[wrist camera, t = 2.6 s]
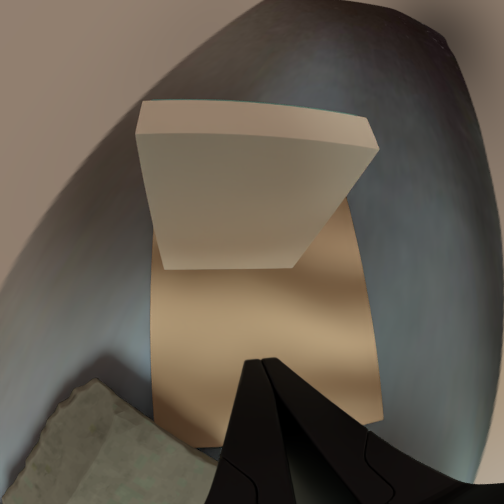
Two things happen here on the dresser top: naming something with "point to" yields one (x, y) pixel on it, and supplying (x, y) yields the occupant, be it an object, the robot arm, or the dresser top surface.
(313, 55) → the dresser top surface
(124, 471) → the stone slab
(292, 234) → the glazed tile
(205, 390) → the tan wooden board
